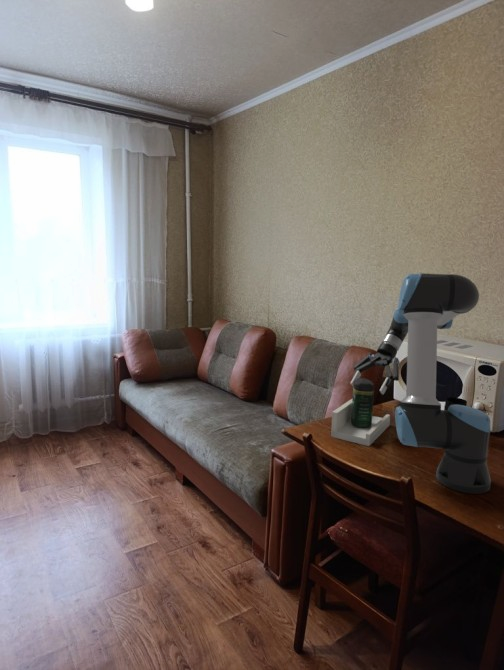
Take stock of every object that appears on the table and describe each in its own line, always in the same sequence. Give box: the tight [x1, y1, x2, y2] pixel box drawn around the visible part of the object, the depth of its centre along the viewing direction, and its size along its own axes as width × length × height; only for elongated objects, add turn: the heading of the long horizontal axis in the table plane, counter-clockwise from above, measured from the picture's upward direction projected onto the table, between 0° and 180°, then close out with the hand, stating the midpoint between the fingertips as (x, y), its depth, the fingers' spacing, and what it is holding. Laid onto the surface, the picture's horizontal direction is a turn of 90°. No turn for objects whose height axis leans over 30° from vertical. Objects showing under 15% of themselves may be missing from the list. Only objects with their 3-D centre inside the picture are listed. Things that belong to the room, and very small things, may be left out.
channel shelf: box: [330, 398, 391, 447], centre depth 173 cm, size 26×15×10 cm, turn 147°
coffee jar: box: [351, 377, 375, 428], centre depth 172 cm, size 10×8×19 cm
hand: (366, 388), depth 174 cm, fingers open, 13 cm apart
